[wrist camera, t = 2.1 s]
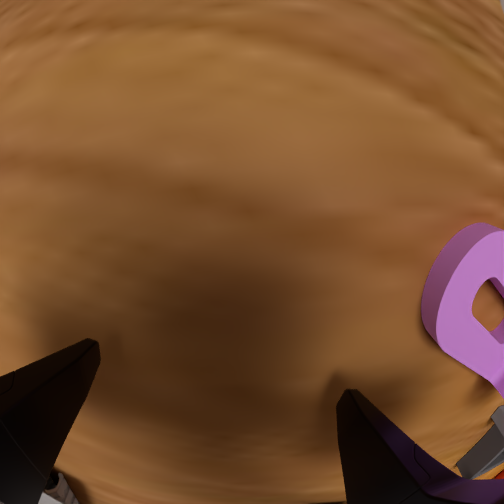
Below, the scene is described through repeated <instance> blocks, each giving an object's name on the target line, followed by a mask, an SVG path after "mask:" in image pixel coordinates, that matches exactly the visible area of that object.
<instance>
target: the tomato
mask: <svg viewBox="0 0 504 504" xmlns="http://www.w3.org/2000/svg"><path fill="white" fill-rule="evenodd" d="M495 479H504V471H502V472H501V473H499V474H498V475H497V476H496V477H495Z"/></svg>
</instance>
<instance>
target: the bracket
mask: <svg viewBox="0 0 504 504" xmlns="http://www.w3.org/2000/svg"><path fill="white" fill-rule="evenodd" d="M487 279H490V281H491V282H492V283H493V284H494V286H495V287H496V289H497V290H498V291H499V293H500V294H501V295H502V297H503V298H504V230H502V229H499V228H497V227H495V226H492V225H490V224H487V223H475V224H472V225H469V226H467V227H465V228H464V229H462V230H460V231H459V232H458V233H457V234H455V235H454V236H453V237H452V238H451V239H450V240H449V242H448V243H447V244H446V245H445V246H444V248H443V249H442V250H441V252H440V254H439V255H438V257H437V258H436V260H435V262H434V264H433V266H432V268H431V270H430V272H429V275H428V277H427V280H426V283H425V286H424V290H423V295H422V302H421V315H422V321H423V324H424V327H425V329H426V330H427V332H428V333H429V334H430V335H431V336H432V338H433V339H434V340H435V341H436V342H437V344H438V345H439V346H440V347H441V348H442V350H443V351H444V352H446V353H447V354H449V355H450V356H452V357H453V358H455V359H456V360H458V361H459V362H461V363H462V364H464V365H466V366H467V367H469V368H470V369H472V370H473V371H475V372H476V373H478V374H479V375H481V376H482V377H484V378H485V379H487V380H488V381H490V382H491V383H492V384H493V385H494V387H495V388H496V389H497V390H498V392H499V393H500V394H501V396H502V397H503V398H504V319H503V320H502V322H501V323H500V325H499V326H498V327H497V328H496V329H495V330H493V331H491V332H488V331H487V330H486V329H485V328H484V327H483V326H482V325H481V324H480V323H479V322H478V321H477V320H476V319H475V318H474V317H473V315H472V303H473V299H474V297H475V294H476V292H477V291H478V289H479V288H480V286H481V285H482V284H483V283H484V282H485V281H486V280H487Z"/></svg>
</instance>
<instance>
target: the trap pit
mask: <svg viewBox="0 0 504 504" xmlns="http://www.w3.org/2000/svg"><path fill="white" fill-rule="evenodd" d="M503 462H504V436H503V435H502V433H501V432H500V430H499V429H498V427H497V426H496V424H494V425H493V427H492V428H491V429H490V430H489V431H488V432H487V433H486V434H485V435H484V437H483V438H482V439H481V440H480V441H479V442H478V443H477V444H476V445H475V446H474V447H473V448H472V449H471V450H470V451H469V452H468V453H467V454H466V455H465V456H464V457H463V458H462V459H460V460H459V461H458V462H457V463H456V464H457V466H458V469H459V471H460V473H461V475H462V477H463V478H465V479H470V480H472V479H474V478H476V477H478V476H480V475H482V474H484V473H486V472H487V471H489V470H491V469H493V468H495V467H496V466H498V465H500V464H501V463H503Z"/></svg>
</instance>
